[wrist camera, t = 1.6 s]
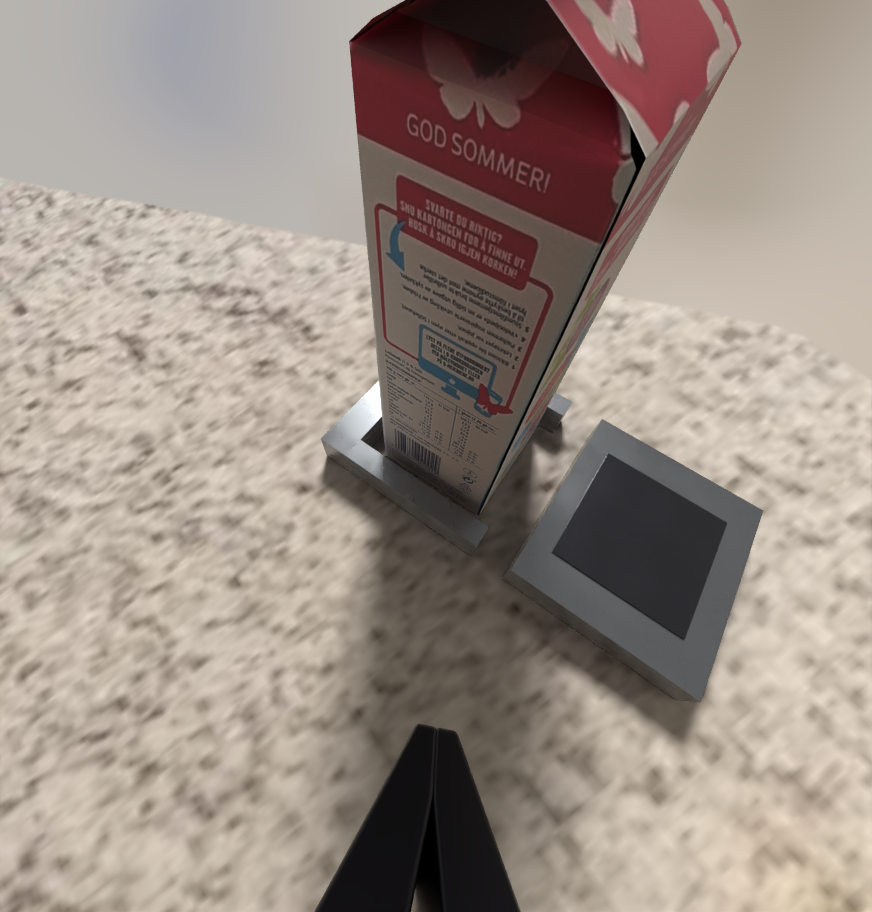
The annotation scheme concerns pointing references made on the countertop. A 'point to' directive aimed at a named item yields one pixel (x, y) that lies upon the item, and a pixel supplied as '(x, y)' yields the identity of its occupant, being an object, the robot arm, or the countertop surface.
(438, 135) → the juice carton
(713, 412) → the countertop surface
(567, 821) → the countertop surface
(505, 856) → the countertop surface
